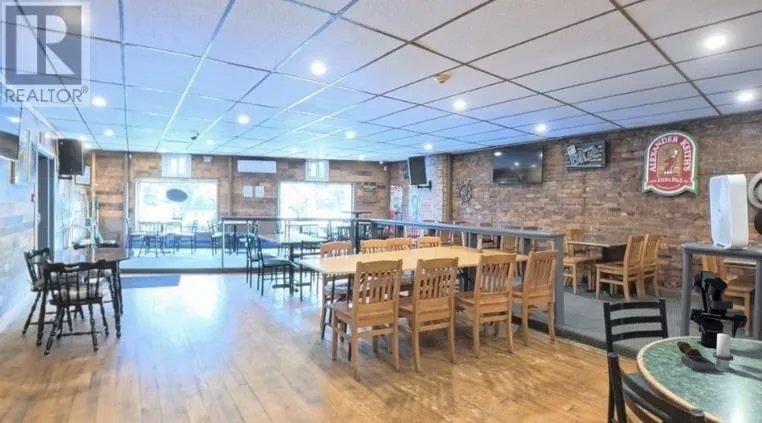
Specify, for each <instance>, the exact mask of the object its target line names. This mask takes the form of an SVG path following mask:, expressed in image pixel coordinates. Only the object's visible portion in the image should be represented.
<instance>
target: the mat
mask: <svg viewBox="0 0 762 423" xmlns="http://www.w3.org/2000/svg"><path fill="white" fill-rule="evenodd" d="M714 364H715V371H717V372H720V373H721V372H722V373H739V371H738V370H736V369H735V368H733V367H731V366H730V365H729V369H721V368H718V367H716V363H714Z"/></svg>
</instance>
